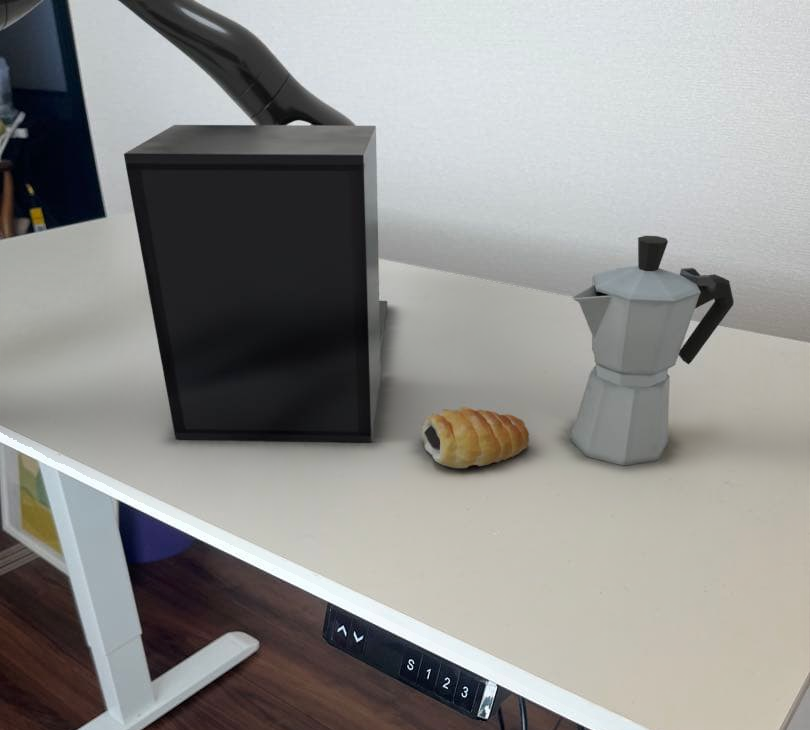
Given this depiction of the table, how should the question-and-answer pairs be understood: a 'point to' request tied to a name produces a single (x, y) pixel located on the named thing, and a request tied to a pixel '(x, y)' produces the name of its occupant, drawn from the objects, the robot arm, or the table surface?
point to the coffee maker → (640, 351)
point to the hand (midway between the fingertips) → (281, 220)
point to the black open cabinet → (263, 278)
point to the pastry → (473, 437)
